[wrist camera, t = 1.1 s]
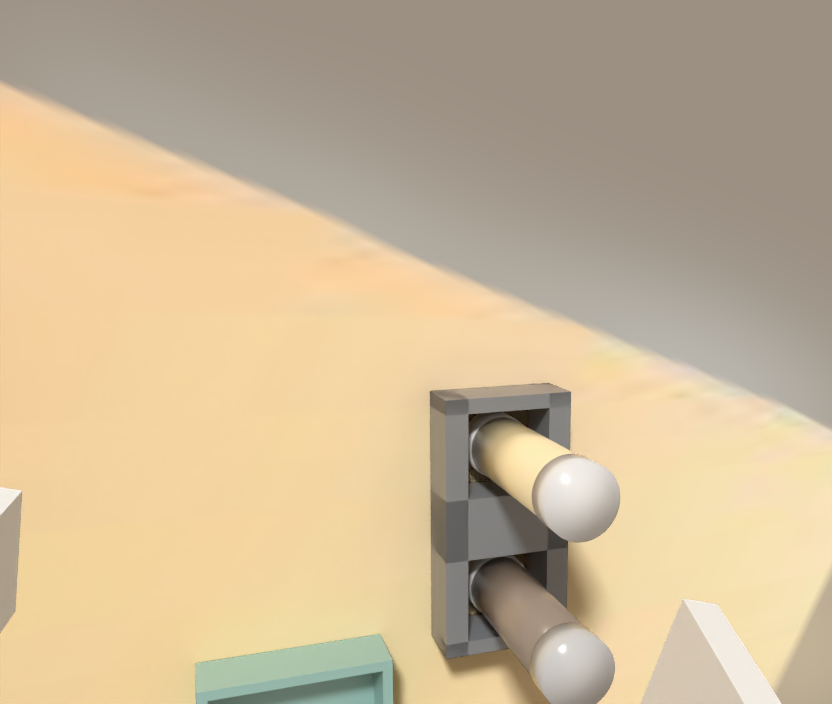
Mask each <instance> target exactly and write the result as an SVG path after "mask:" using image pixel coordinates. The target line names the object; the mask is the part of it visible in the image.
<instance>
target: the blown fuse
mask: <svg viewBox="0 0 832 704" xmlns="http://www.w3.org/2000/svg"><path fill="white" fill-rule="evenodd" d="M468 598H469V599H470V601H471V602H472V603H473V605H474V606H475V607H476V608H477V609H478V610H479V611H480V612H482V614H483V615H484V616H485V617H486V619H487V620H488V621H489V622H490V624H491V625H492V626H493V628H494V629H495V630H496V631H497V633H498V634H499V635H500V637H501V638H502V639H503V640H504V642H505V643H506V644H507V645H508V647H509V648H510V649H511V651H512V652H513V653H514V654H515V656H516V657H517V658H518V660H519V661H520V662H521V663H522V665H523V666H524V667H525V668H526V670H527V671H528V672H529V674H530V675H531V677H532V680H533V681H534V683H535V684H536V686H537V687H538V688H539V690H540V691H541V692H542V693H543V695H544V696H545V697H546V699H547V700H548V701H549V702H550V704H596V703H598V702H599V701H600V700H601V699H602V698H603V697H604V695H605V694H606V693H607V691H608V690H609V688H610V686H611V684H612V681H613V678H614V672H615V663H614V658H613V655H612V653H611V651H610V649H609V648H608V647H607V646H606V645H605V644H604V643H603V642H602V641H601V640H600V639H599V638H598V637H597V636H596V635H595V634H594V633H593V632H592V631H591V630H590V629H589V628H587V627H586V626H584V625H582V624H581V623H580V622H579V621H578V620H577V619H576V618H575V617H574V616H573V615H572V614H571V613H570V612H569V611H568V610H567V609H566V608H565V607H564V606H563V605H562V604H561V603H560V602H559V601H558V600H556V599H555V598H554V597H553V596H552V595H551V594H550V593H549V592H548V591H547V590H546V589H545V588H544V587H543V586H542V585H541V584H540V583H539V582H538V581H537V580H536V579H535V578H534V577H533V576H532V575H531V574H530V573H529V572H528V571H527V570H526V569H525V567H524V566H523V564H522V563H521V562H520V561H519V560H518V559H517V558H516V557H515V556H514V555H508V556H500V557H493V558H486V559H478V560H471V561H468Z"/></svg>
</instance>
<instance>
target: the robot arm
mask: <svg viewBox="0 0 832 704" xmlns="http://www.w3.org/2000/svg"><path fill="white" fill-rule="evenodd" d="M21 502H22V491H20V490H14V489H8V488H2V487H0V633H1V631H2V630H3V628H4V627H5V625H6V624H7V623H8V621H9V620H10V618H11V617H12V615H13V614H14V612H15V607H16V590H17V572H18V555H19V537H20V520H21ZM641 704H781V702H780V701H779V699H778V697H777V696H776V694H775V693H774V691H773V690H772V688H771V687H770V685H769V683H768V682H767V680H766V679H765V677H764V676H763V674H762V673H761V671H760V670H759V668H758V666H757V665H756V663H755V662H754V660H753V659H752V657H751V656H750V654H749V652H748V651H747V649H746V648H745V646H744V645H743V643H742V642H741V640H740V639H739V637H738V635H737V634H736V632H735V631H734V629H733V628H732V626H731V625H730V623H729V621H728V620H727V618H726V617H725V615H724V614H723V612H722V611H721V609H720V608H719V606H718V604H713V603H706V602H700V601H694V600H688V599H682V602H681V604H680V607H679V609H678V612H677V614H676V617H675V619H674V622H673V624H672V626H671V629H670V631H669V634H668V636H667V639H666V641H665V644H664V646H663V649H662V651H661V654H660V656H659V659H658V661H657V664H656V666H655V668H654V671H653V673H652V676H651V678H650V681H649V683H648V686H647V688H646V691H645V693H644V696H643V698H642V701H641Z"/></svg>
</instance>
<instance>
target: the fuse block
mask: <svg viewBox="0 0 832 704" xmlns="http://www.w3.org/2000/svg"><path fill="white" fill-rule="evenodd" d="M516 410H528V428H530V429H532V430H533V431H535V432H537V433H539V434H541V435H543V436H544V437H546V438H548V439H550V440H552V441H554V442H555V443H557V444H559V445H561V446H563V447H564V448H566V449H568V450H570V416H571V392H570V391H568V390H565V389H563V388H560V387H558V386H555V385H552V384H550V383H542V384H527V385H512V386H497V387H482V388H467V389H452V390H438V391H430V461H431V609H432V636H433V638H434V639H435V641H436V643H437V644H438V646H439V648H440V649H441V651H442V653H443V654H444V656H445V657H446V659H451V658H456V657H462V656H468V655H474V654H480V653H485V652H491V651H497V650H503V649H509V647H508V645H507V644H506V643H505V642H504V640H503V639H502V638H501V637H500V635H499V634H498V633H497V631H496V630H495V629H494V628H493V626H492V625H491V624H490V622H489V621H488V620H487V619H486V617H485V616H484V615H483V614H477V615H471V616H468V561H471V560H478V559H486V558H493V557H500V556H508V555H515V554H523V553H527V564H526V570H527V571H528V572H529V573H530V574H531V575H532V576H533V577H534V578H535V579H536V580H537V581H538V582H539V583H540V584H541V585H542V586H543V587H544V588H545V589H546V590H547V591H548V592H549V593H550V594H551V595H552V596H553V597H554V598H555V599H556V600H558V601H559V602H560V603H561V604H562V605H563V606H564V607H565V608H566V607H567V559H568V541H567V540H565V539H563V538H561V537H559V536H558V535H557V534H556V533H554V532H553V531H552V530H551V529H549V528H548V527H547V526H546V525H544V524H543V523H542V522H541V521H540V520H539V519H538V517H537V516H536V515H535V514H534V513H533V512H531V511H530V510H529V509H527V508H526V507H525V506H524V505H522V504H521V503H520V502H519V501H517V500H516V499H515V498H514V497H512V496H511V495H510V494H508V493H507V492H506V491H505V490H503V489H502V488H501V487H500V486H498V485H497V484H496V483H495V482H493V481H492V480H491V481H481V482H472V483H468V414H478V413H491V412H504V411H516Z"/></svg>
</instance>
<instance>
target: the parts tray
mask: <svg viewBox="0 0 832 704" xmlns="http://www.w3.org/2000/svg"><path fill="white" fill-rule="evenodd" d="M195 689H196V704H393V660H392V658H391V656H390V654H389V652H388V649H387V647H386V645H385V643H384V641H383V639H382V637H381V635H380V634H378V635H372V636H365V637H359V638H353V639H346V640H340V641H334V642H327V643H321V644H315V645H308V646H302V647H296V648H289V649H283V650H277V651H270V652H264V653H258V654H251V655H245V656H239V657H232V658H226V659H220V660H213V661H207V662H201V663H195Z"/></svg>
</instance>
